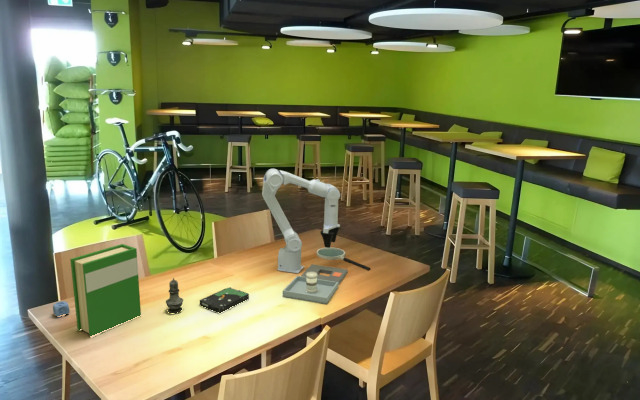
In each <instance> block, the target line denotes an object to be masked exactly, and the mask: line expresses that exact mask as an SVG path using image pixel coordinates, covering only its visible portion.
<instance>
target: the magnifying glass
mask: <svg viewBox="0 0 640 400" xmlns="http://www.w3.org/2000/svg"><path fill="white" fill-rule="evenodd" d="M316 256H317V257H318V258H320V259H323V260H327V261H328V260H329V261H331V260H332V261H333V260H342V261H344V262H347V263H349V264H350V265H354V266H355V267H356V266H357V267H359V268H360V269H361V268H362V269H363V270H365V271H370V270H371V267H369V266H368V265H367V266H366V265H364V264H363V263H359V262H357V261H355V260H352V259H349V258H347V257H345V256H346V252H345V250H344V249H341V248H338V247H331V246H330V248H326V247H322V248H319V249H317V251H316Z"/></svg>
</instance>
